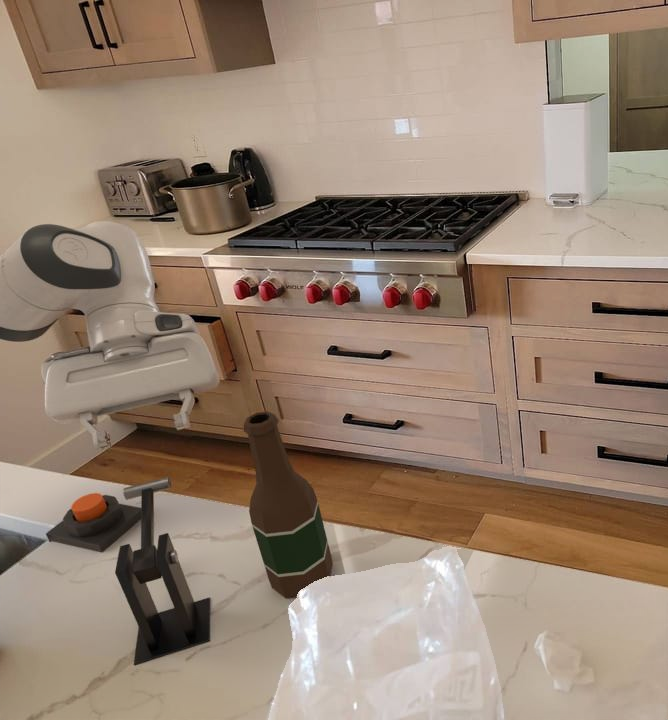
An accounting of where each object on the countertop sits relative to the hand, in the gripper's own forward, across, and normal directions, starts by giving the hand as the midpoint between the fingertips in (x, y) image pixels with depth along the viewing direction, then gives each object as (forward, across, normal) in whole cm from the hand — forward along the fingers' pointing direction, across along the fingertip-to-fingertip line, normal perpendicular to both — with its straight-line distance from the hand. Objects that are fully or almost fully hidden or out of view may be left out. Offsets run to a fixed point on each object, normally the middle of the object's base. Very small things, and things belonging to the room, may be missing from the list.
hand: (143, 437), depth 85 cm
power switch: (+24, 0, +1) cm, 24 cm away
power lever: (+13, 0, -4) cm, 13 cm away
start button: (+4, -12, +16) cm, 20 cm away
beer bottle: (+23, +15, +3) cm, 27 cm away
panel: (+7, -12, +18) cm, 23 cm away
